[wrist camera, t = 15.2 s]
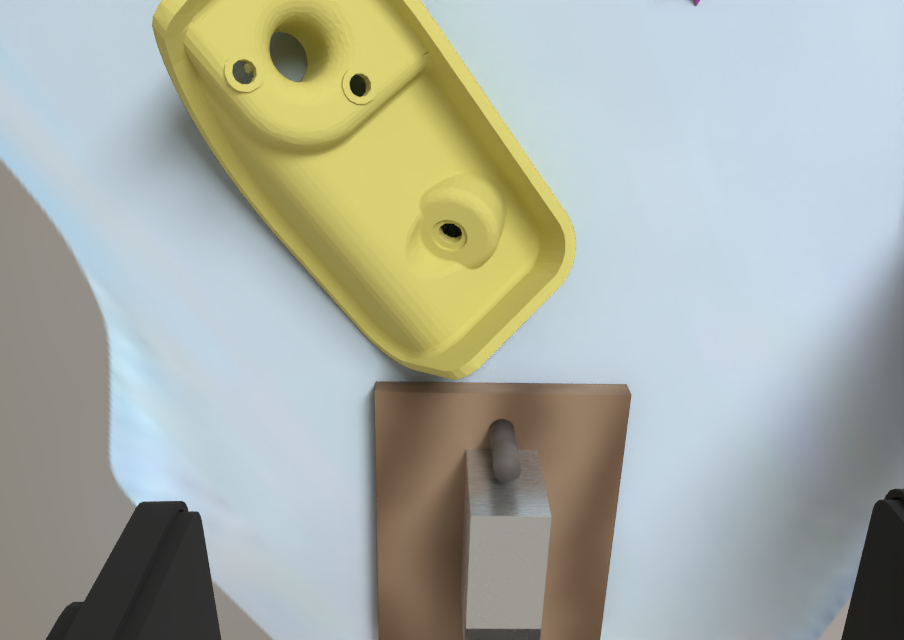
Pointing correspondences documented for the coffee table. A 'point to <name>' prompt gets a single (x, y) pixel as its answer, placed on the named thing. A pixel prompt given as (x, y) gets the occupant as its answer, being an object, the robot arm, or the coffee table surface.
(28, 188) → the coffee table surface
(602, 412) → the pin tray
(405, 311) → the plastic component
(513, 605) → the block
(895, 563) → the robot arm
